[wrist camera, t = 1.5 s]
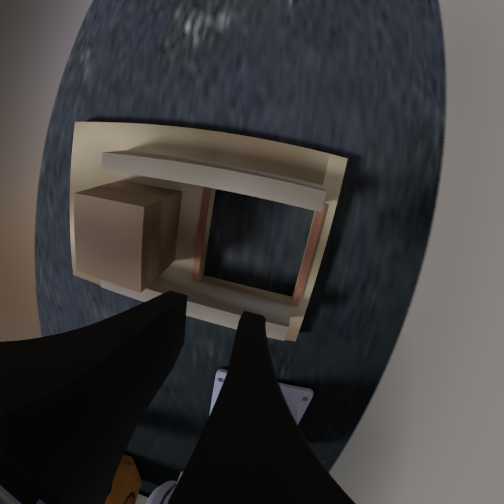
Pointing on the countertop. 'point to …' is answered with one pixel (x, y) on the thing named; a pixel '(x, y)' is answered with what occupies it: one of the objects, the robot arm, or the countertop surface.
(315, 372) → the countertop surface
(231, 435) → the robot arm
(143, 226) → the walnut block
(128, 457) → the coffee package
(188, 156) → the frame
